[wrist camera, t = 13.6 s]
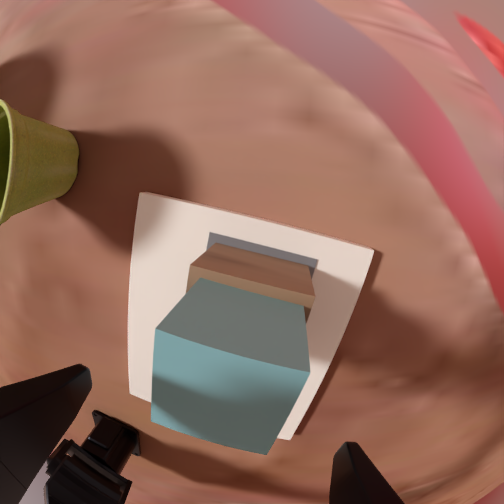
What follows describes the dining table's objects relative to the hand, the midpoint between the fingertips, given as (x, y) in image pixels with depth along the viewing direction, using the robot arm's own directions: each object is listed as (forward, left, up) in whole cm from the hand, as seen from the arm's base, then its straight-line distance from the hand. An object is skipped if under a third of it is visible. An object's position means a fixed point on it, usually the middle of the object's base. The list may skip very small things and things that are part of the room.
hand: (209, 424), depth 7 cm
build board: (-5, +1, -12) cm, 13 cm away
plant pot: (+6, +19, -13) cm, 24 cm away
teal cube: (0, 0, -6) cm, 6 cm away
